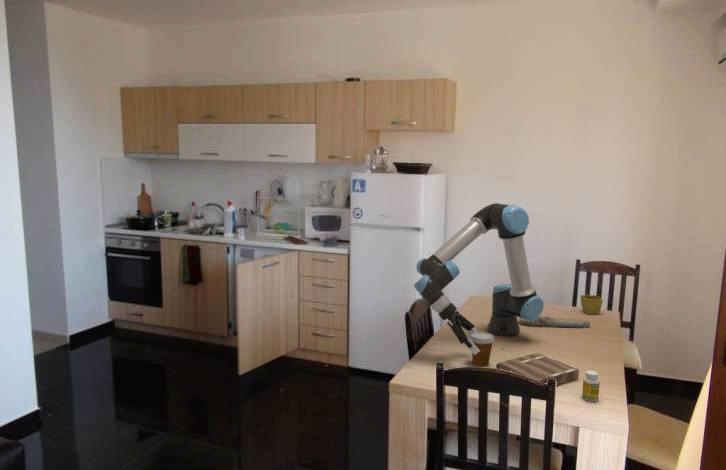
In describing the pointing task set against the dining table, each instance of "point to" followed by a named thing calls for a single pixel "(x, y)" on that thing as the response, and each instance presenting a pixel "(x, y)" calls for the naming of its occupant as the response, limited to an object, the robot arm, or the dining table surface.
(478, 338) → the disposable coffee cup
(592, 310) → the flower pot
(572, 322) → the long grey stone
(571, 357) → the dining table surface
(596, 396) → the supplement bottle
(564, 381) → the dock
